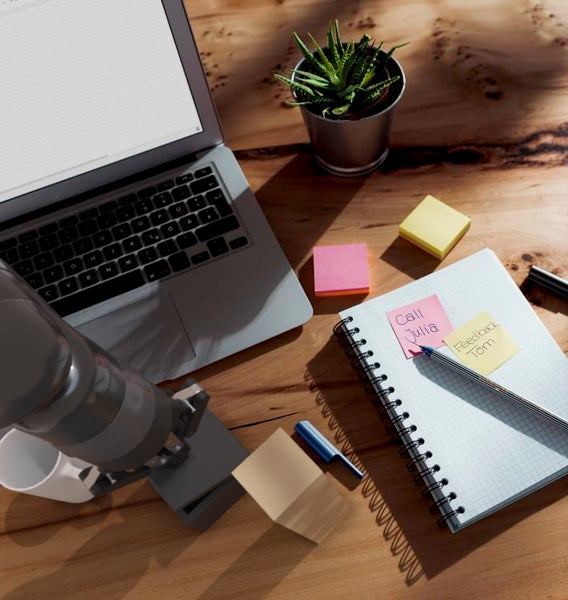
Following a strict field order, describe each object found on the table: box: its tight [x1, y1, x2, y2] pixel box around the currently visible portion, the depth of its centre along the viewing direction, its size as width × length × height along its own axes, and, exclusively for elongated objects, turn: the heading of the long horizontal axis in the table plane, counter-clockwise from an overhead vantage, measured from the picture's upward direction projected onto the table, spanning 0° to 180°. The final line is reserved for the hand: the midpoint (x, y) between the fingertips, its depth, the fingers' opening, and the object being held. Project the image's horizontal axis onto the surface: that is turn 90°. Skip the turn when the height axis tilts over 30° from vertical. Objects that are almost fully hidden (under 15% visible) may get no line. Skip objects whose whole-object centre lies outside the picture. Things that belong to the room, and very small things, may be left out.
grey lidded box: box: [175, 416, 252, 532], centre depth 73 cm, size 9×9×7 cm
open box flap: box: [145, 406, 251, 514], centre depth 67 cm, size 10×9×1 cm
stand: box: [231, 426, 352, 545], centre depth 62 cm, size 5×5×26 cm
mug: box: [0, 428, 95, 504], centre depth 70 cm, size 10×7×12 cm, turn 71°
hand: (178, 454), depth 65 cm, fingers closed
